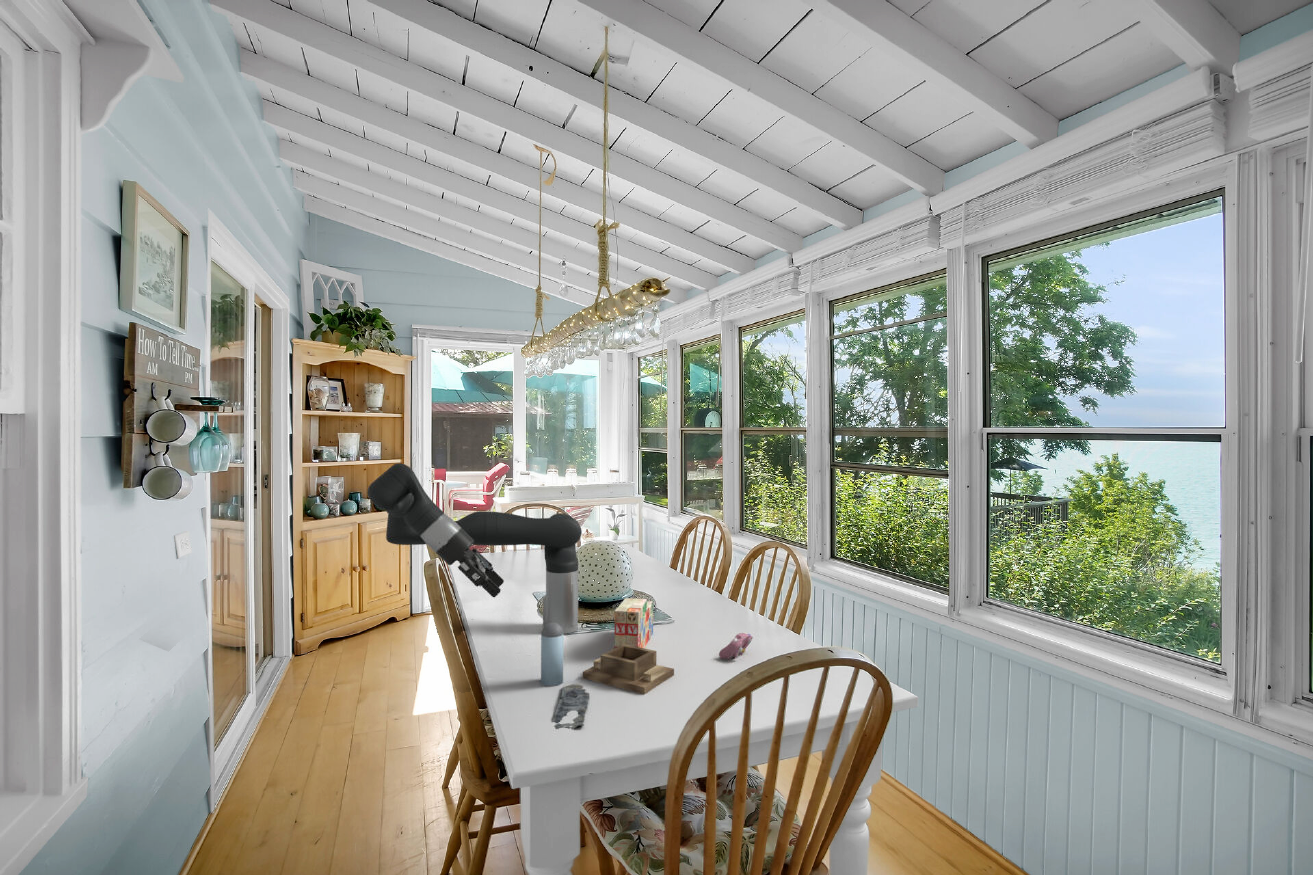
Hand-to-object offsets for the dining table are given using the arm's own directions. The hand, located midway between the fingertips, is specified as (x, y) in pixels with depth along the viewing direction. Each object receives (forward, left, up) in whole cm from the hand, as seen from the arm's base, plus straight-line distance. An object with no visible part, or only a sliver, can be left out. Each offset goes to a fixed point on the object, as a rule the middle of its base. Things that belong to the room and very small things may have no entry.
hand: (499, 589), depth 143 cm
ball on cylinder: (+9, +8, -22) cm, 25 cm away
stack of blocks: (+11, +39, -22) cm, 46 cm away
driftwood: (+21, 0, -22) cm, 30 cm away
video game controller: (+37, +47, -22) cm, 64 cm away
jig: (+22, +20, -22) cm, 36 cm away
